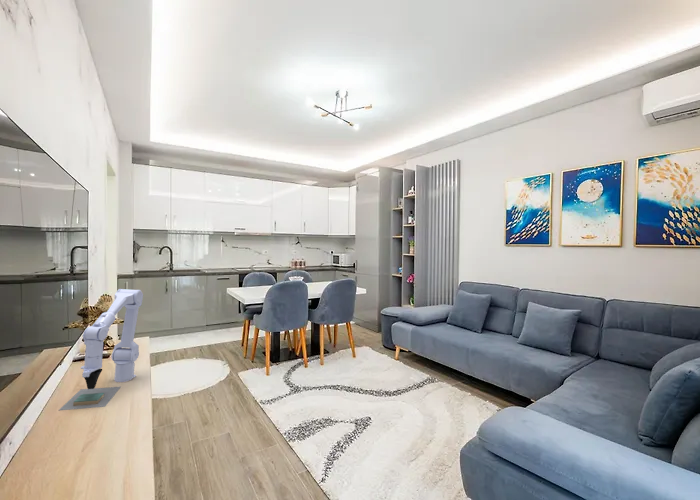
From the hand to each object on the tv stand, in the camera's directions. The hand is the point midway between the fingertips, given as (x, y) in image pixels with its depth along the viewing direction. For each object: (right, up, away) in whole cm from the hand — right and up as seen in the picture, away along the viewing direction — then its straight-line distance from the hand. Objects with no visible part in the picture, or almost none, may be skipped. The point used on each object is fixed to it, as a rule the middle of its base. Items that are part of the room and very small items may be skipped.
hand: (91, 388), depth 135 cm
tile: (-1, -4, +2) cm, 4 cm away
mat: (-1, -5, +2) cm, 6 cm away
